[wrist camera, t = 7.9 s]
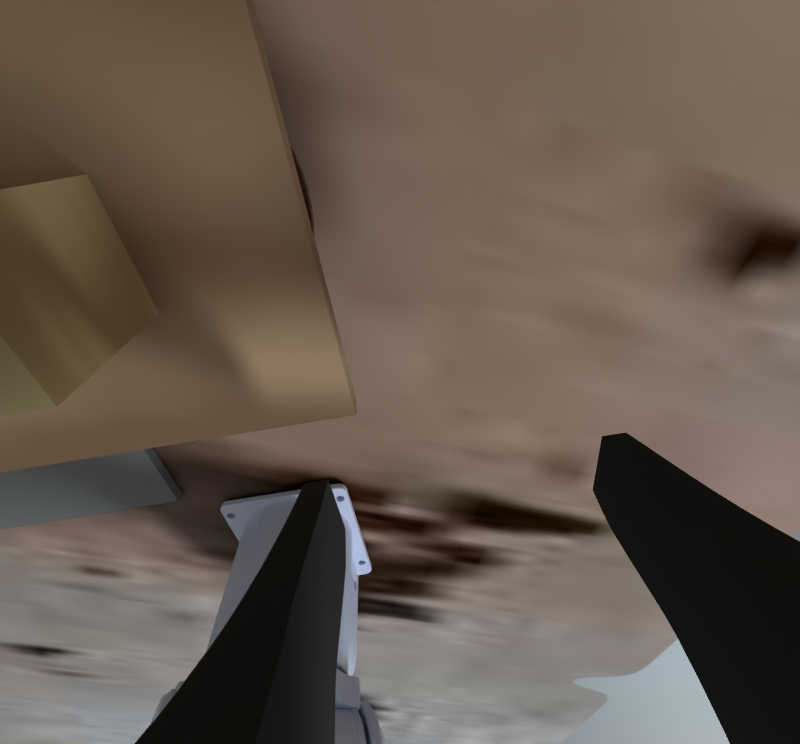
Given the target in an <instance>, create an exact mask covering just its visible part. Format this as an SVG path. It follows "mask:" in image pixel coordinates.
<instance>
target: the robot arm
mask: <svg viewBox="0 0 800 744" xmlns="http://www.w3.org/2000/svg"><path fill="white" fill-rule="evenodd" d="M593 491H594V494H595V496H596V498H597V500H598V503H599V505H600V507H601V509H602V511H603V513H604V515H605V517H606V520H607V522H608V524H609V526H610V528H611V529H612V531H613V533H614V534H615V536H616V538H617V539H618V541H619V542H620V544H621V546H622V547H623V549H624V551H625V552H626V554H627V555H628V557H629V559H630V560H631V562H632V563H633V565H634V567H635V568H636V570H637V571H638V573H639V575H640V576H641V578H642V579H643V581H644V583H645V584H646V586H647V587H648V589H649V590H650V592H651V594H652V595H653V597H654V598H655V600H656V602H657V603H658V605H659V606H660V608H661V610H662V611H663V613H664V615H665V616H666V618H667V620H668V621H669V623H670V625H671V627H672V628H673V630H674V632H675V634H676V635H677V637H678V639H679V641H680V643H681V645H682V647H683V649H684V651H685V653H686V655H687V657H688V659H689V661H690V663H691V665H692V667H693V668H694V670H695V672H696V674H697V676H698V678H699V680H700V682H701V684H702V686H703V688H704V690H705V692H706V694H707V697H708V699H709V701H710V703H711V705H712V707H713V709H714V711H715V713H716V715H717V717H718V719H719V721H720V723H721V725H722V727H723V729H724V732H725V734H726V736H727V738H728V740H729V742H730V744H800V542H799V541H797V540H795V539H794V538H792V537H790V536H788V535H787V534H785V533H783V532H781V531H779V530H778V529H776V528H774V527H772V526H771V525H769V524H767V523H766V522H764V521H762V520H761V519H759V518H757V517H756V516H754V515H752V514H750V513H749V512H747V511H745V510H744V509H742V508H740V507H739V506H737V505H735V504H734V503H732V502H731V501H729V500H727V499H726V498H724V497H722V496H721V495H719V494H718V493H716V492H715V491H713V490H711V489H710V488H708V487H707V486H705V485H704V484H702V483H701V482H699V481H697V480H696V479H694V478H693V477H691V476H690V475H688V474H687V473H685V472H684V471H682V470H681V469H679V468H678V467H676V466H675V465H673V464H672V463H670V462H669V461H667V460H666V459H664V458H663V457H661V456H660V455H658V454H657V453H656V452H654V451H653V450H651V449H650V448H648V447H647V446H645V445H644V444H642V443H641V442H639V441H638V440H636V439H635V438H633V437H632V436H630V435H629V434H627V433H621V434H614V435H608V436H602V440H601V446H600V452H599V457H598V463H597V469H596V474H595V480H594V486H593ZM339 496H342V497H339ZM220 511H221V513H222V515H223V516H224V518H225V520H226V521H227V523H228V525H229V526H230V528H231V530H232V531H233V533H234V535H235V536H236V538H237V540H238V541H239V545H238V548H237V551H236V555H235V558H234V561H233V565H232V568H231V571H230V574H229V578H228V581H227V584H226V588H225V591H224V594H223V597H222V601H221V604H220V607H219V611H218V614H217V617H216V620H215V624H214V627H213V630H212V634H211V637H210V640H209V644H208V647H207V650H206V653H205V655H204V656H203V657H202V659H201V660H200V661H199V663H198V664H197V665H196V667H195V668H194V669H193V671H192V672H191V673H190V675H189V676H188V677H187V679H186V680H185V681H181V682H179V683H178V684H177V686H176V687H175V689H172V690H171V691H170V692H168V693H167V694H166V695H164V696H163V697H162V699H161V701H160V703H159V705H158V707H157V710H156V712H155V714H154V717H153V719H152V722H151V724H150V726H149V727H148V728H147V729H146V731H145V732H144V733H143V734H142V735H141V737H140V738H139V739H138V740H137V741H136V743H135V744H385V740H384V736H383V733H382V730H381V728H380V726H379V723H378V720H377V717H376V715H375V713H374V711H373V709H372V708H371V706H370V705H368V704H367V703H365V702H361V701H360V678H358V677H353V673H354V669H355V664H356V657H357V611H358V575H362V574H367V573H369V572H370V571H371V563H370V560H369V556H368V553H367V550H366V547H365V544H364V541H363V538H362V535H361V531H360V528H359V525H358V522H357V519H356V516H355V513H354V510H353V506H352V503H351V500H350V497H349V494H348V491H347V488H346V486H345V485H343V484H332V485H330V483H329V480H322V481H315V482H309V483H305V484H304V485H303V487H302V489H300V490H294V491H288V492H281V493H275V494H268V495H262V496H256V497H249V498H243V499H237V500H230V501H225V502H223V503H222V505H221V508H220Z"/></svg>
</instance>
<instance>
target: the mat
mask: <svg viewBox="0 0 800 744" xmlns="http://www.w3.org/2000/svg"><path fill="white" fill-rule="evenodd" d="M181 495H182V492H181V491H180V489H179V488H178V486H177V485H176V483H175V482H174V480H173V478H172V477H171V475H170V474H169V472H168V471H167V469H166V468H165V466H164V465H163V463H162V462H161V460H160V459H159V457H158V456H157V454H156V453H155V451H154V450H153V448H149V449H142V450H136V451H130V452H124V453H118V454H112V455H106V456H100V457H93V458H87V459H81V460H75V461H69V462H63V463H57V464H51V465H44V466H38V467H32V468H26V469H20V470H14V471H8V472H2V473H0V529H5V528H11V527H18V526H24V525H30V524H37V523H43V522H49V521H56V520H62V519H68V518H75V517H81V516H88V515H94V514H100V513H107V512H113V511H119V510H126V509H132V508H138V507H145V506H151V505H158V504H164V503H170V502H177V501H179V499H180V497H181Z"/></svg>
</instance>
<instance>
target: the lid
mask: <svg viewBox="0 0 800 744" xmlns="http://www.w3.org/2000/svg"><path fill="white" fill-rule="evenodd" d="M351 415H356V397H355V393H354V390H353V386H352V382H351V378H350V374H349V370H348V366H347V363H346V359H345V355H344V351H343V347H342V343H341V340H340V336H339V332H338V328H337V324H336V320H335V316H334V313H333V309H332V305H331V301H330V297H329V293H328V290H327V286H326V282H325V278H324V274H323V270H322V266H321V263H320V259H319V255H318V251H317V247H316V243H315V240H314V236H313V232H312V228H311V224H310V220H309V216H308V213H307V209H306V205H305V201H304V197H303V193H302V190H301V186H300V182H299V178H298V174H297V170H296V166H295V163H294V159H293V155H292V151H291V147H290V143H289V140H288V136H287V132H286V128H285V124H284V120H283V116H282V113H281V109H280V105H279V101H278V97H277V93H276V90H275V86H274V82H273V78H272V74H271V70H270V66H269V63H268V59H267V55H266V51H265V47H264V43H263V40H262V36H261V32H260V28H259V24H258V20H257V16H256V13H255V9H254V5H253V1H252V0H0V473H2V472H8V471H14V470H20V469H26V468H32V467H38V466H44V465H51V464H57V463H63V462H69V461H75V460H81V459H87V458H93V457H100V456H106V455H112V454H118V453H124V452H130V451H136V450H142V449H149V448H155V447H161V446H167V445H173V444H179V443H185V442H192V441H198V440H204V439H210V438H216V437H222V436H228V435H234V434H241V433H247V432H253V431H259V430H265V429H271V428H277V427H283V426H290V425H296V424H302V423H308V422H314V421H320V420H326V419H332V418H339V417H345V416H351Z"/></svg>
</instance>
